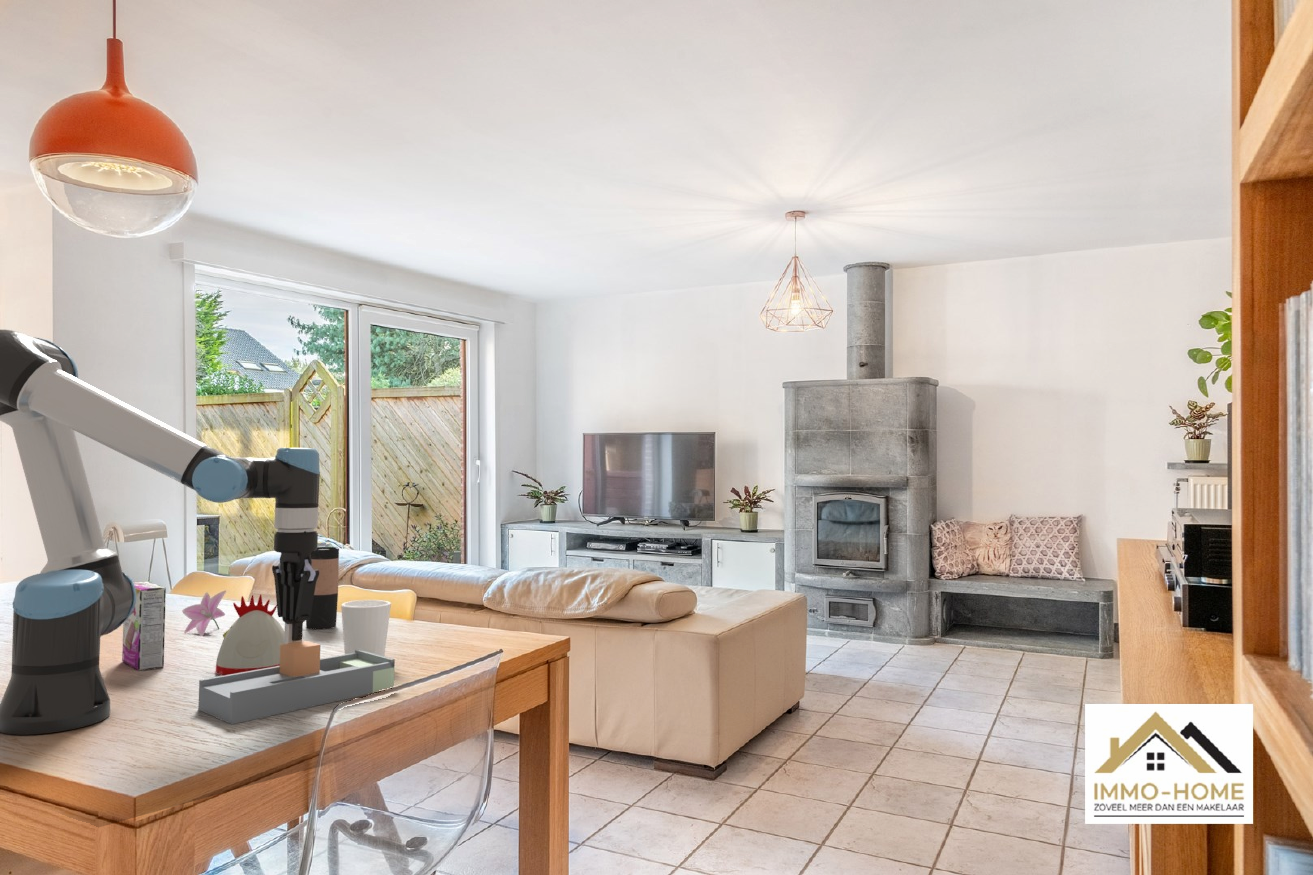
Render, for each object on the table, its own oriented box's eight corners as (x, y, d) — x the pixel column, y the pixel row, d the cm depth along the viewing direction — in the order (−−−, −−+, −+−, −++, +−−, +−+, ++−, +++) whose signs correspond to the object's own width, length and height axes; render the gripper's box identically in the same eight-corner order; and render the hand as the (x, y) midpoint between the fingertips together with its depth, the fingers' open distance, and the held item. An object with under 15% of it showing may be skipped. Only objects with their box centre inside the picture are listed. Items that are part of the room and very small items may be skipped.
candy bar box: (119, 662, 178) (122, 582, 179) (146, 658, 182) (149, 580, 182) (137, 671, 171) (140, 588, 171) (164, 667, 174) (167, 586, 175)
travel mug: (298, 628, 216) (301, 549, 217) (315, 623, 224) (317, 546, 224) (326, 630, 215) (329, 550, 216) (342, 624, 223) (345, 547, 223)
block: (293, 677, 153) (294, 648, 153) (279, 672, 156) (280, 644, 156) (319, 672, 156) (320, 644, 157) (305, 667, 160) (306, 640, 160)
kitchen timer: (219, 663, 179) (222, 591, 179) (291, 659, 184) (293, 588, 185) (212, 679, 166) (215, 601, 167) (290, 674, 171) (292, 598, 172)
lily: (181, 632, 215) (168, 602, 210) (229, 610, 221) (218, 580, 217) (196, 655, 206) (183, 624, 202) (245, 631, 213) (234, 600, 209)
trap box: (231, 724, 138) (232, 689, 138) (198, 709, 146) (199, 676, 146) (393, 688, 161) (394, 659, 161) (357, 677, 169) (358, 649, 169)
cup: (330, 664, 180) (332, 602, 180) (374, 656, 187) (375, 598, 187) (354, 672, 173) (356, 608, 173) (398, 664, 180) (399, 603, 181)
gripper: (333, 531, 159) (330, 659, 159) (297, 527, 168) (294, 649, 167) (295, 533, 154) (291, 666, 153) (259, 529, 162) (255, 655, 161)
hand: (292, 657), depth 160 cm, fingers closed
